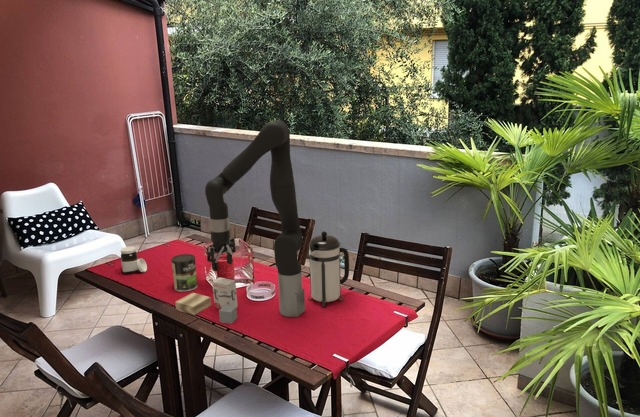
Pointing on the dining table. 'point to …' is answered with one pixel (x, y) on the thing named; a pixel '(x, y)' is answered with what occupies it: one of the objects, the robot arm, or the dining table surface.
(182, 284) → the coffee can
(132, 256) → the spread jar
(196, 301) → the beech block
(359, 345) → the dining table surface
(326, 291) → the coffee press
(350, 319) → the dining table surface
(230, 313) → the slate cube
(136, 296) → the dining table surface
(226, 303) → the ink box
